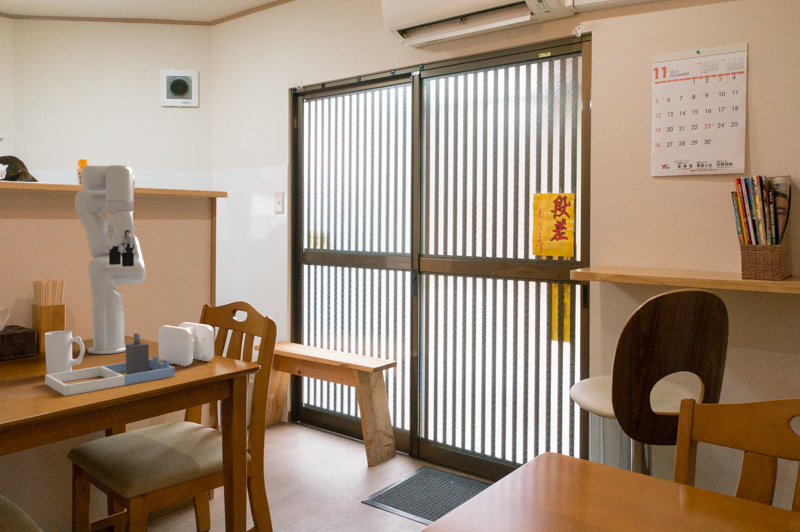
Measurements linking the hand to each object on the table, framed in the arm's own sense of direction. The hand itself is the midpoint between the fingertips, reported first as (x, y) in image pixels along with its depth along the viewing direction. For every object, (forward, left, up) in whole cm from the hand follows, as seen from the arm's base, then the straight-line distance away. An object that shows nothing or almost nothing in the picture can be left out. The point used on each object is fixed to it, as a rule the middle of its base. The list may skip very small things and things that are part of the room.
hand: (121, 265), depth 183 cm
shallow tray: (+15, -9, -30) cm, 35 cm away
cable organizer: (+8, +16, -31) cm, 35 cm away
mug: (0, -16, -31) cm, 34 cm away
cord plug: (+15, -2, -30) cm, 34 cm away
